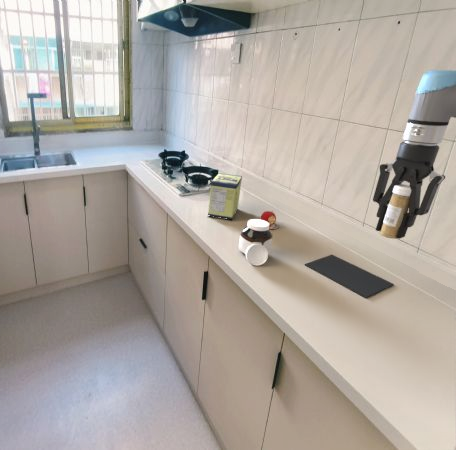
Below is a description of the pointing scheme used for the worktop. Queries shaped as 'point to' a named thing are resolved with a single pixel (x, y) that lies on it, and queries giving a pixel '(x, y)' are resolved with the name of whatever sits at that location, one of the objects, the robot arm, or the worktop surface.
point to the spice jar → (396, 211)
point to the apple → (269, 219)
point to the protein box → (224, 195)
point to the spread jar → (256, 241)
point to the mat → (349, 276)
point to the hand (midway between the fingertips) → (389, 233)
